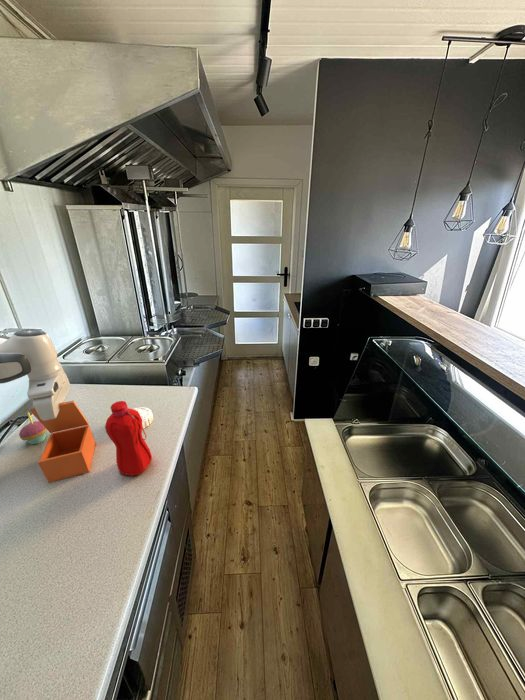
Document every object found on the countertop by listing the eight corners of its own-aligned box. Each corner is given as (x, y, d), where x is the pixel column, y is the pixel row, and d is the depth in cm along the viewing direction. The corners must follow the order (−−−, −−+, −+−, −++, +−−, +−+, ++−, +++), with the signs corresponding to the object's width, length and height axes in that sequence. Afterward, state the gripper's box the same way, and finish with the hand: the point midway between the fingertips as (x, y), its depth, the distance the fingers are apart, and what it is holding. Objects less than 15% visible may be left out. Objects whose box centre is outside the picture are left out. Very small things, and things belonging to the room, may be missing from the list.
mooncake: (117, 421, 116) (115, 414, 114) (146, 409, 123) (144, 402, 121) (127, 437, 108) (125, 429, 106) (158, 422, 115) (156, 415, 113)
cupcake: (27, 436, 109) (14, 411, 104) (53, 429, 112) (42, 404, 107) (22, 451, 102) (8, 425, 97) (50, 443, 106) (38, 417, 100)
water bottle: (146, 479, 90) (128, 416, 79) (115, 475, 92) (93, 412, 81) (160, 457, 98) (146, 397, 87) (131, 453, 100) (114, 394, 89)
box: (89, 471, 93) (81, 452, 89) (48, 482, 90) (38, 462, 86) (95, 443, 105) (88, 424, 101) (59, 452, 101) (51, 433, 98)
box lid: (73, 402, 90) (73, 400, 91) (30, 411, 87) (30, 408, 87) (88, 424, 101) (88, 422, 101) (50, 433, 97) (50, 431, 98)
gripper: (46, 365, 97) (59, 398, 103) (24, 398, 80) (42, 436, 86) (67, 362, 99) (79, 395, 105) (50, 393, 82) (66, 430, 88)
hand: (62, 413), depth 95 cm, fingers closed
